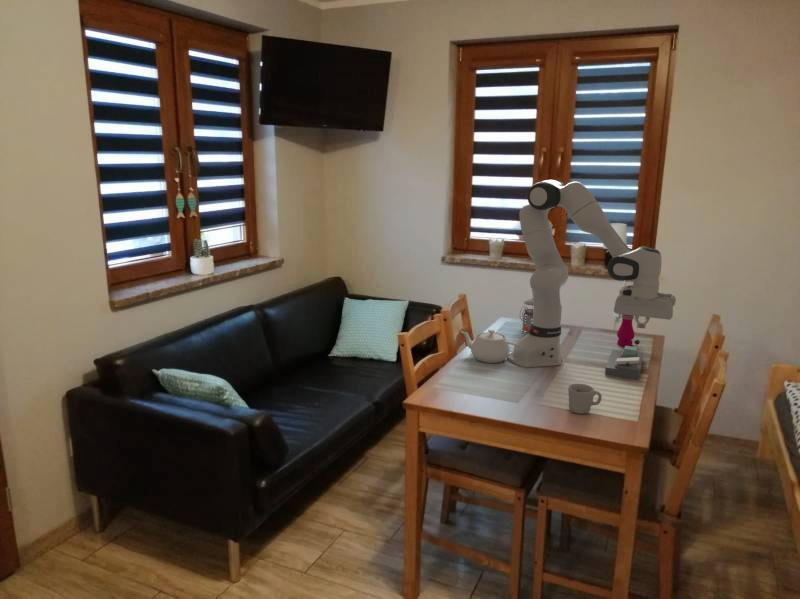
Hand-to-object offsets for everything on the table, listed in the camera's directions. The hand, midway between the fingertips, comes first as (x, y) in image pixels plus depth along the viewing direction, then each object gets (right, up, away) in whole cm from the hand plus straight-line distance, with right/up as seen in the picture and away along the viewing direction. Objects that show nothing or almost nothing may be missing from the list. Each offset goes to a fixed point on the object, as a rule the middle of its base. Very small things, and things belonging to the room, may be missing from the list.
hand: (641, 327), depth 221 cm
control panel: (-1, -16, +13) cm, 21 cm away
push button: (0, -11, +12) cm, 16 cm away
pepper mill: (+10, -10, +43) cm, 45 cm away
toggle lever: (+4, -11, +19) cm, 22 cm away
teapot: (-54, -14, +22) cm, 60 cm away
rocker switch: (-3, -13, +5) cm, 14 cm away
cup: (-30, -26, -27) cm, 48 cm away
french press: (-28, -5, +61) cm, 67 cm away
